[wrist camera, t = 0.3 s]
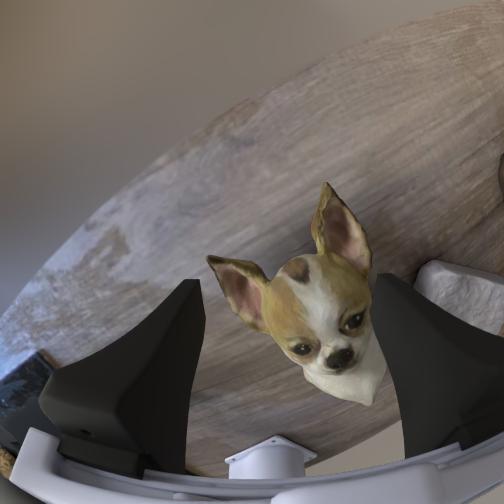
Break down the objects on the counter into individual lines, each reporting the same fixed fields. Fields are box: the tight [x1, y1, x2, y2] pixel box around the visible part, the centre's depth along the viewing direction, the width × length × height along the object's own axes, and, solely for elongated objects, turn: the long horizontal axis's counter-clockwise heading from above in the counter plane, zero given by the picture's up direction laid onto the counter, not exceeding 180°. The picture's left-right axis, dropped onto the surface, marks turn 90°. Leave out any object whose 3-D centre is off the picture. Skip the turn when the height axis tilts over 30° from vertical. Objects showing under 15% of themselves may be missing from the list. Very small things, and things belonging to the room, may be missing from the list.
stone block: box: [413, 260, 504, 335], centre depth 22 cm, size 12×5×10 cm
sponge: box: [0, 448, 16, 480], centre depth 43 cm, size 13×8×20 cm
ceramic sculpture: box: [206, 182, 387, 406], centre depth 19 cm, size 11×9×15 cm
